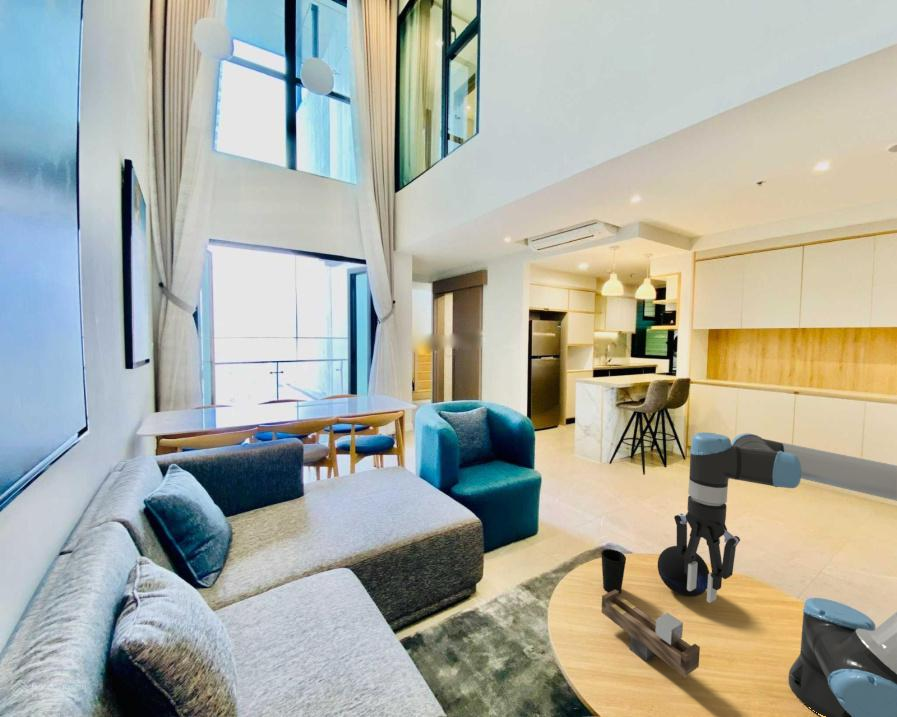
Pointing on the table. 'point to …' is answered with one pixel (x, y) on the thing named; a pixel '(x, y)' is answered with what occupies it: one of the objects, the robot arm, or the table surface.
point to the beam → (648, 635)
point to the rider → (669, 629)
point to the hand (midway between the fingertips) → (701, 594)
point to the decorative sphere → (681, 573)
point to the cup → (612, 569)
